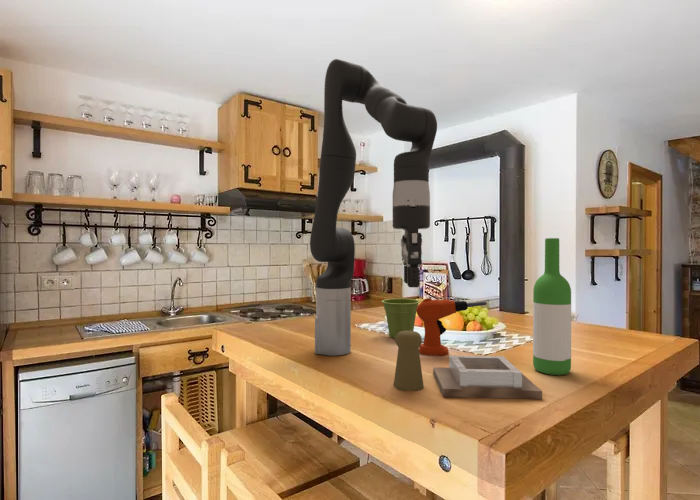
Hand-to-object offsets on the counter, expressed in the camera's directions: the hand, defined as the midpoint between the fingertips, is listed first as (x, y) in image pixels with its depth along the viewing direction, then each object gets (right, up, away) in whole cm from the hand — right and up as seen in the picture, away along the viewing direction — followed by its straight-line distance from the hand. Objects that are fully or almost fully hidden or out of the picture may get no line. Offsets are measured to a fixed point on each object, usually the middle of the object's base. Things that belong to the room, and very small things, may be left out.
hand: (411, 285), depth 84 cm
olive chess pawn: (-1, -21, 0) cm, 21 cm away
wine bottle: (+33, -20, +10) cm, 40 cm away
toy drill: (+14, -20, +25) cm, 35 cm away
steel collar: (+14, -19, 0) cm, 24 cm away
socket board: (+14, -20, 0) cm, 25 cm away
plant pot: (+3, -20, +46) cm, 50 cm away
